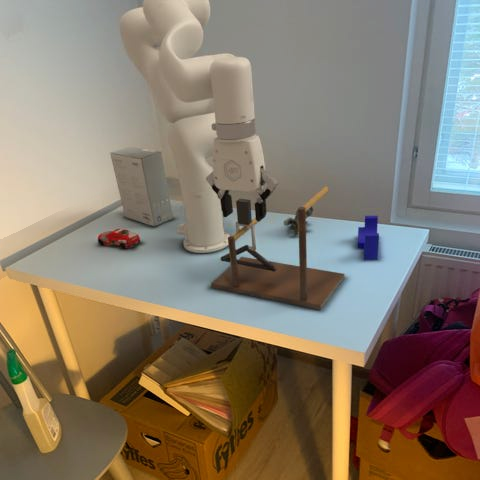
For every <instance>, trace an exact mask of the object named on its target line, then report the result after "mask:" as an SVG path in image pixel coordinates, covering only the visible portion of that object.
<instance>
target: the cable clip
mask: <svg viewBox="0 0 480 480" xmlns="http://www.w3.org/2000/svg"><path fill="white" fill-rule="evenodd" d="M378 220H379V216H378V215H365V216H364V226H358V228H357V249H362V250H363V260H364V261H378V257H379V243H380V241H379V240H380V233H379V232H378V222H379V221H378Z"/></svg>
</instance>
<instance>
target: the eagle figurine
mask: <svg viewBox="0 0 480 480" xmlns="http://www.w3.org/2000/svg"><path fill="white" fill-rule="evenodd" d="M313 212H314V208H313V206H312V207H311V208H310V209H309V210H307V211H306V219H308V218H309V217H311V216H312V215H313ZM307 224H308V221H306V225H307ZM289 225H290V226H292V228H289V230H290V231H294V232H293V233H294V234H293V237H296V236H297V235H299V230H298V209H297V210H296V211H295V216H294V218H293V217H291V216H290V217H287V218H286V219H284V220H283V226H285V227H288V226H289ZM306 232H308V227H306Z"/></svg>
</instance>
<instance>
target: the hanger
mask: <svg viewBox="0 0 480 480" xmlns="http://www.w3.org/2000/svg"><path fill="white" fill-rule="evenodd" d="M235 205H236V219H237V221H236V222H235V233H236V232H238V231H239V230H240V229H241V228H240V227H251V229H250V232H251V245H249V244H245V245H243V246H241V247H239V248H236V257H237V256H239V255H241V254H243V253H245V252H247V253H248V254H249V255H251V256H252V257H254V259H257V260H259V261H260V262H261V263H262V264H258V263H253V262H248V261H243V260H238V259H237V264H240V265H245V266H250V267H255V268H260V269H265V270H270V271H273V272H275V271H276V267H275V266H274V265H273V264H271V263H270V262H269V261H270V260H268V259H266V258H265V257H264V256H262V255H261V253H258V252H257V251H256V250H257V243H256V224H255V225H254V224H250V223H252V220H253V218H252V217H253V216H252V203H251V199H246V198H238V199H237V200H235ZM220 261H221V262H225V263H230V254H229V253H227V254H224V255H222V256H221V257H220ZM263 264H264V265H263Z"/></svg>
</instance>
